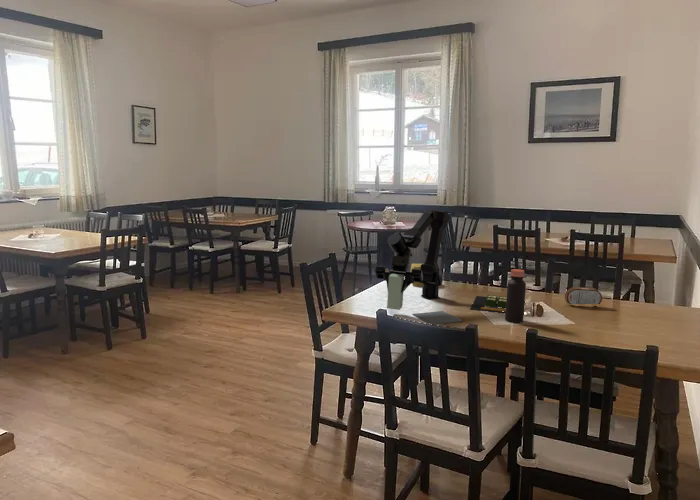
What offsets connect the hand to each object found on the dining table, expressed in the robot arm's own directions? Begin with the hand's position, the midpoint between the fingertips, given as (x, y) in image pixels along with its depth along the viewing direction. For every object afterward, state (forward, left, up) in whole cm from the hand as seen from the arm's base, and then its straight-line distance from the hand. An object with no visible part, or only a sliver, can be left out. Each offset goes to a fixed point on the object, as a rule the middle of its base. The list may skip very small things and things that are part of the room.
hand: (394, 291), depth 209 cm
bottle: (-42, +21, -10) cm, 48 cm away
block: (-1, -1, -7) cm, 7 cm away
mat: (-15, +8, -10) cm, 19 cm away
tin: (-86, +13, -10) cm, 87 cm away
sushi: (-52, +1, -10) cm, 53 cm away
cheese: (-40, -46, -10) cm, 62 cm away
